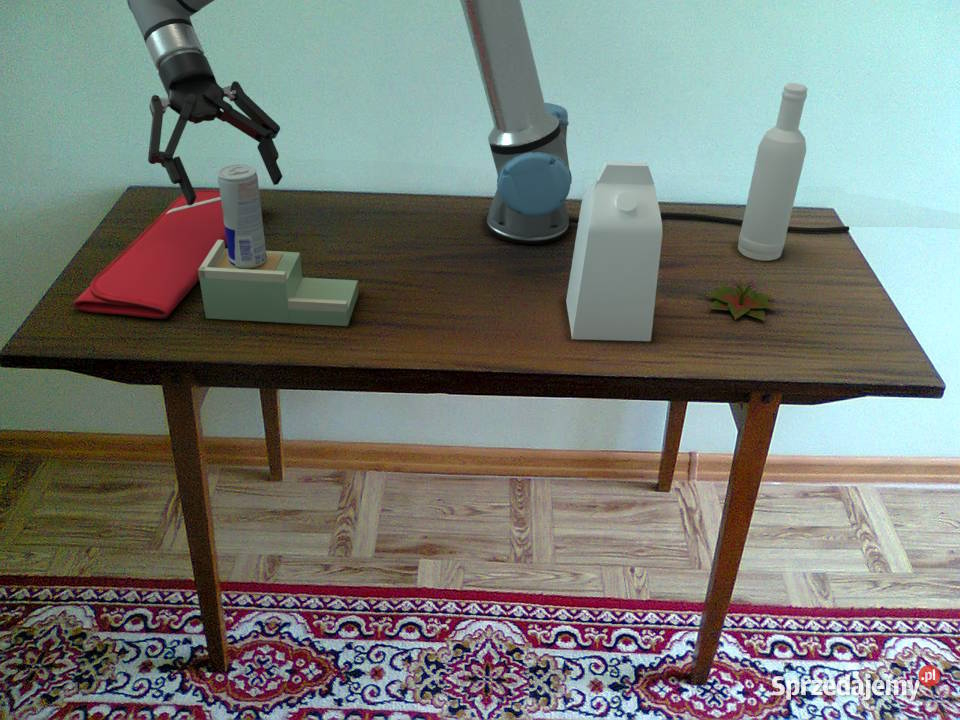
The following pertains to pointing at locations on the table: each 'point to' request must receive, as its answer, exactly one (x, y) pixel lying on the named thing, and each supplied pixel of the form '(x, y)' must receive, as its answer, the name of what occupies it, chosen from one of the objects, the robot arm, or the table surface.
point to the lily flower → (741, 300)
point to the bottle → (775, 180)
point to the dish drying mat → (159, 261)
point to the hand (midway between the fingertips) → (236, 191)
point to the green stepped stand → (273, 291)
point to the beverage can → (242, 215)
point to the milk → (616, 256)
